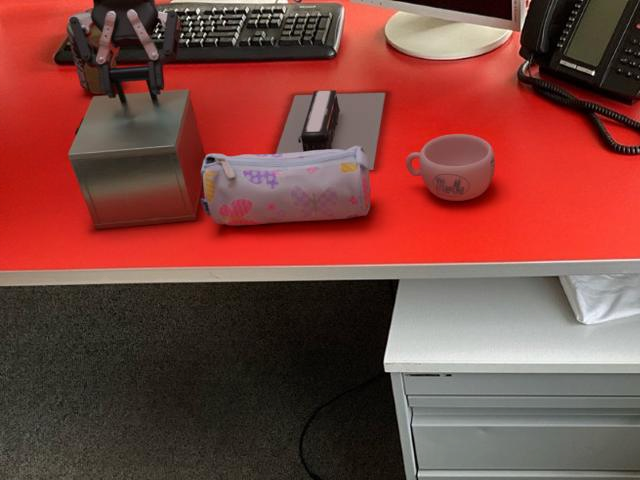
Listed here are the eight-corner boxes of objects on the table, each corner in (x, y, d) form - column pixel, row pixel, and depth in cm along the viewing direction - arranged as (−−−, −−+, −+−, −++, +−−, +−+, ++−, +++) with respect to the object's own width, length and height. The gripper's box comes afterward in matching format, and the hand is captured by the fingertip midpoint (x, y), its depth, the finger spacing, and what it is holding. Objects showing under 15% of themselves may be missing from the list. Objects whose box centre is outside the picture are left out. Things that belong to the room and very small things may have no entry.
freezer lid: (95, 101, 120) (82, 64, 117) (190, 94, 121) (181, 56, 118) (69, 160, 108) (54, 120, 105) (176, 151, 109) (165, 111, 106)
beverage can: (102, 78, 150) (78, 5, 141) (135, 86, 147) (113, 12, 139) (73, 93, 145) (47, 19, 137) (107, 101, 143) (83, 26, 135)
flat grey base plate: (269, 172, 125) (263, 145, 122) (295, 95, 143) (290, 69, 141) (373, 169, 125) (369, 142, 122) (385, 92, 144) (382, 67, 141)
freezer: (116, 170, 126) (94, 104, 120) (207, 162, 127) (190, 97, 121) (95, 229, 115) (69, 160, 108) (196, 220, 116) (176, 151, 109)
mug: (501, 174, 123) (500, 134, 119) (488, 212, 116) (487, 171, 112) (416, 168, 125) (413, 129, 121) (399, 205, 118) (394, 165, 114)
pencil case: (207, 237, 113) (188, 169, 106) (221, 201, 119) (204, 135, 113) (373, 231, 113) (364, 164, 107) (377, 196, 120) (369, 130, 113)
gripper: (52, -44, 113) (65, 87, 112) (169, -51, 114) (182, 78, 113) (75, -15, 120) (87, 109, 119) (184, -22, 121) (196, 100, 121)
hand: (133, 93), depth 116 cm, fingers closed on freezer lid, 5 cm apart
